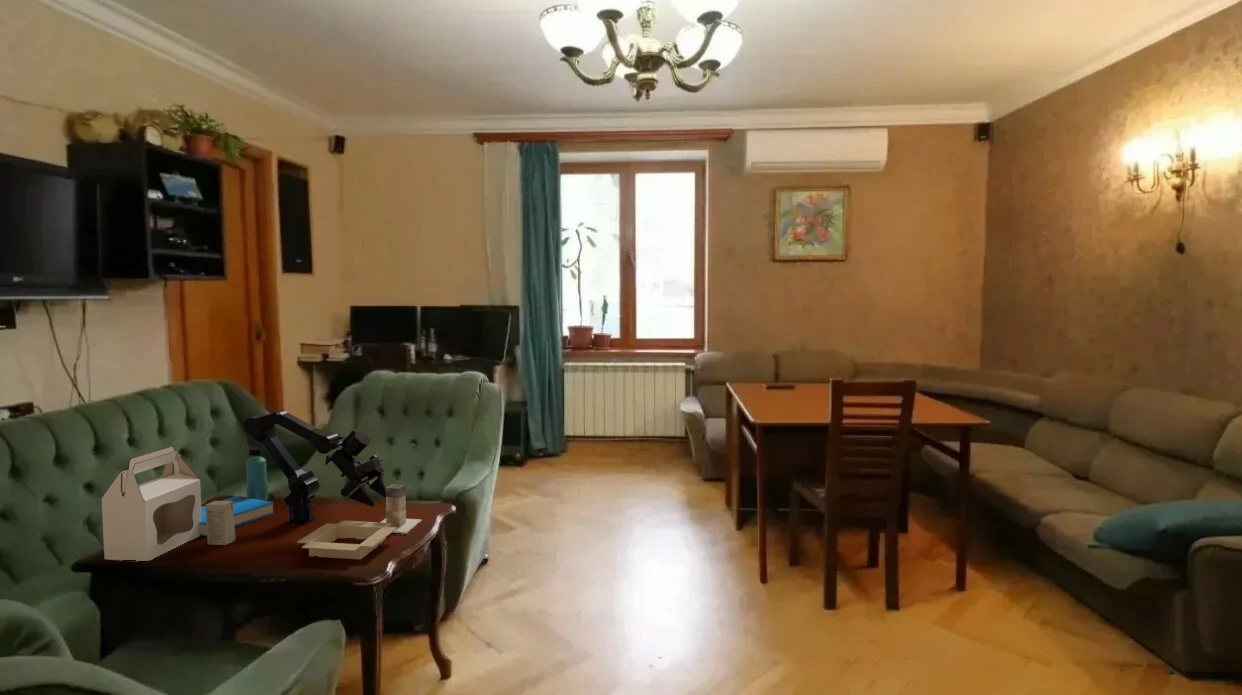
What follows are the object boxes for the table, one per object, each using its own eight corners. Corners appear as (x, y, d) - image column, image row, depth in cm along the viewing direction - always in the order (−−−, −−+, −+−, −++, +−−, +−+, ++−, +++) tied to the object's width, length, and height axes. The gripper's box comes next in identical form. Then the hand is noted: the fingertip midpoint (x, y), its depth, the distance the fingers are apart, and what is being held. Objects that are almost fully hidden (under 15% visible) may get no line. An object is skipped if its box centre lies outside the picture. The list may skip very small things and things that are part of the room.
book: (274, 502, 237) (206, 522, 214) (274, 514, 237) (206, 536, 214) (236, 495, 243) (166, 514, 220) (236, 508, 244) (166, 528, 220)
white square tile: (369, 532, 221) (369, 529, 221) (386, 519, 233) (386, 517, 233) (406, 534, 219) (406, 532, 219) (421, 521, 231) (421, 519, 231)
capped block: (386, 526, 224) (385, 487, 223) (392, 521, 228) (392, 483, 227) (399, 527, 223) (399, 488, 222) (406, 522, 228) (405, 484, 227)
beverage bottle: (270, 504, 247) (269, 448, 245) (250, 508, 242) (248, 451, 240) (264, 500, 251) (262, 445, 249) (244, 504, 247) (242, 447, 245)
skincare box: (236, 540, 212) (234, 500, 211) (226, 545, 208) (225, 505, 207) (215, 539, 213) (214, 499, 212) (206, 544, 209) (204, 504, 208)
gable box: (146, 562, 195) (142, 463, 192) (103, 560, 196) (98, 461, 194) (203, 534, 217) (199, 445, 214) (163, 532, 218) (160, 443, 216)
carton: (290, 560, 198) (289, 546, 198) (332, 532, 220) (332, 519, 220) (366, 565, 195) (366, 551, 195) (401, 536, 218) (401, 523, 217)
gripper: (349, 455, 216) (383, 493, 215) (379, 442, 234) (410, 477, 234) (325, 479, 218) (359, 516, 217) (357, 464, 236) (388, 498, 236)
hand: (380, 501), depth 226 cm, fingers open, 9 cm apart
